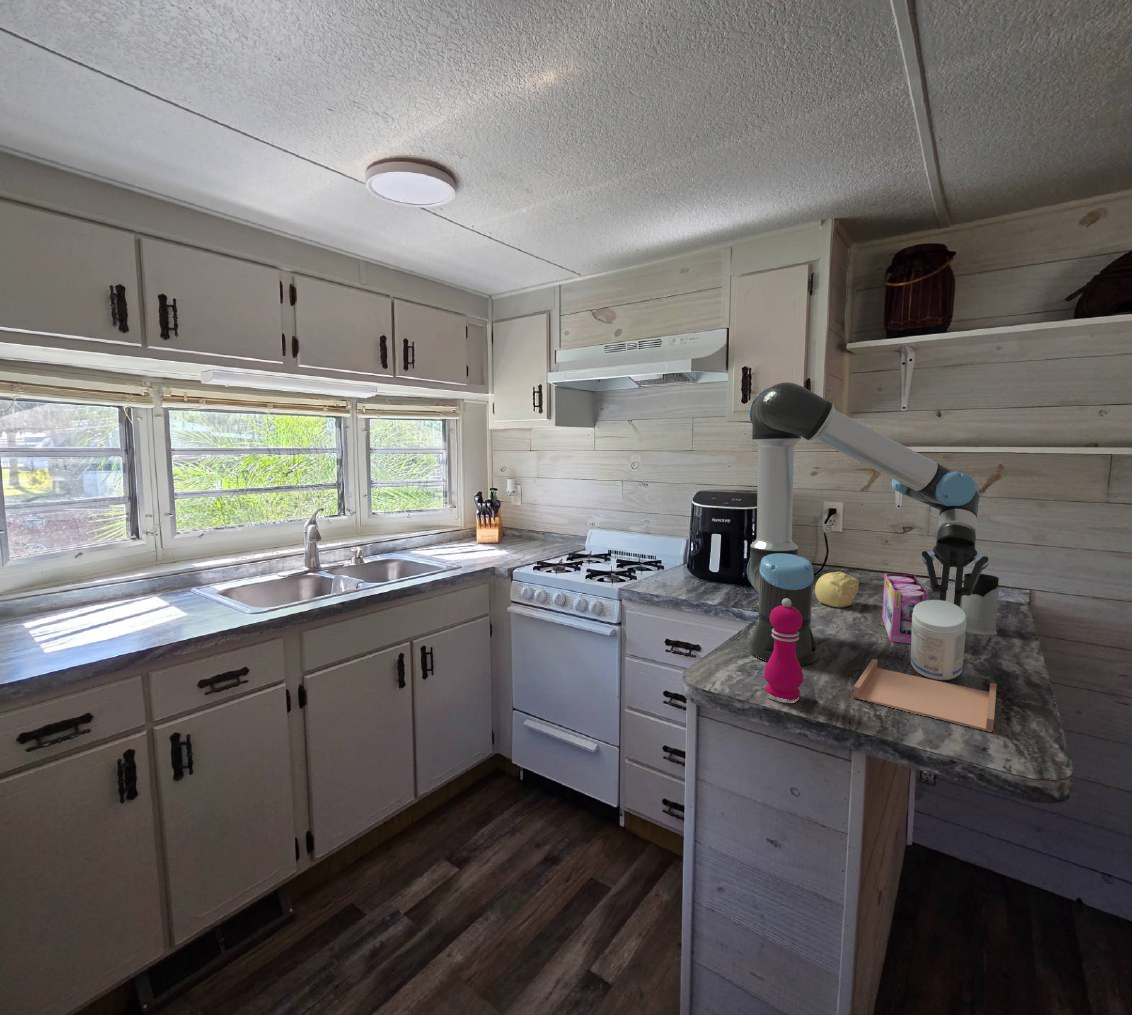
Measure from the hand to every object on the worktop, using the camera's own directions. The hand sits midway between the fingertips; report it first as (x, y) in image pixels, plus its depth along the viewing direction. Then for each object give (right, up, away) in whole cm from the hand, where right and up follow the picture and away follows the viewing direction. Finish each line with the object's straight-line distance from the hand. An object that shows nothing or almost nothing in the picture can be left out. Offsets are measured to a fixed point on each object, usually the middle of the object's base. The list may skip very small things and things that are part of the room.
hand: (948, 618), depth 121 cm
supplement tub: (-2, -11, +1) cm, 11 cm away
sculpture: (+3, -7, +57) cm, 57 cm away
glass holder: (+28, -9, +34) cm, 45 cm away
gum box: (+9, -10, +31) cm, 34 cm away
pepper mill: (-40, -14, -10) cm, 43 cm away
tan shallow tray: (-12, -14, -10) cm, 20 cm away
